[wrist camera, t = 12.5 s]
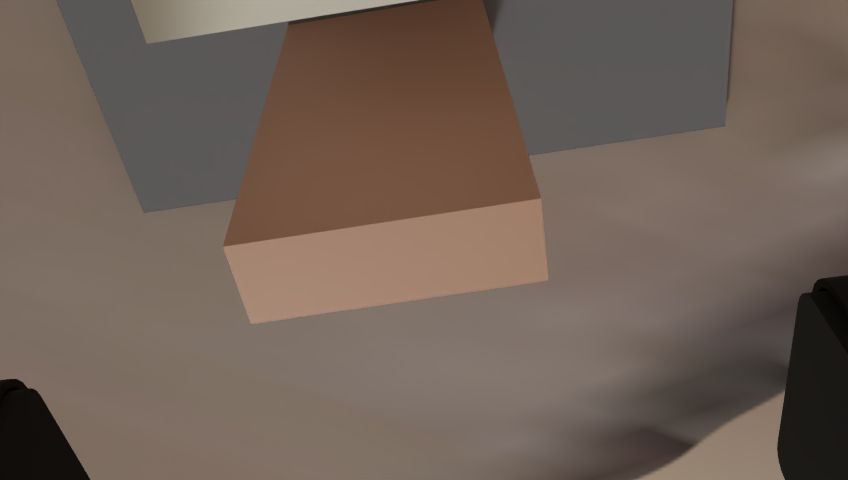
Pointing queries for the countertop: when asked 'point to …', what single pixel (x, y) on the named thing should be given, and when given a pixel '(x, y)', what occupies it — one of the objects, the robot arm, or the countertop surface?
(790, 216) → the countertop surface
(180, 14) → the ivory tile
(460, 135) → the terracotta tile
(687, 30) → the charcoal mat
